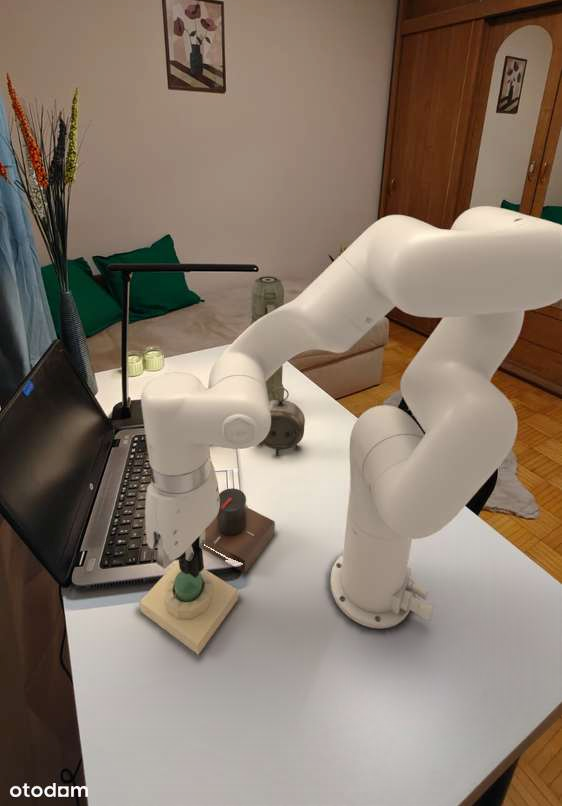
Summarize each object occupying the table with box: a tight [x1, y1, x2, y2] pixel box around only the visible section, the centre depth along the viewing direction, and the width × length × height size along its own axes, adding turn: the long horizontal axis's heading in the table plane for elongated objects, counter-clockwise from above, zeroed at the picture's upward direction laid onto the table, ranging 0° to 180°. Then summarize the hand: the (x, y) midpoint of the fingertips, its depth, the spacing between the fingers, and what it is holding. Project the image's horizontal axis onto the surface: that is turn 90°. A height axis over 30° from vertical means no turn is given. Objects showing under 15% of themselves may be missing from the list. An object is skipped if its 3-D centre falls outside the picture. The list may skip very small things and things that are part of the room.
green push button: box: [174, 571, 203, 602], centre depth 64 cm, size 4×4×2 cm
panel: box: [201, 505, 276, 575], centre depth 76 cm, size 12×9×3 cm
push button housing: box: [139, 560, 239, 656], centre depth 65 cm, size 11×9×4 cm
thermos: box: [249, 275, 285, 401], centre depth 107 cm, size 9×12×35 cm
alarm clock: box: [258, 387, 306, 457], centre depth 96 cm, size 11×5×16 cm, turn 84°
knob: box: [217, 488, 247, 536], centre depth 75 cm, size 5×5×6 cm
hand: (191, 568), depth 63 cm, fingers closed
